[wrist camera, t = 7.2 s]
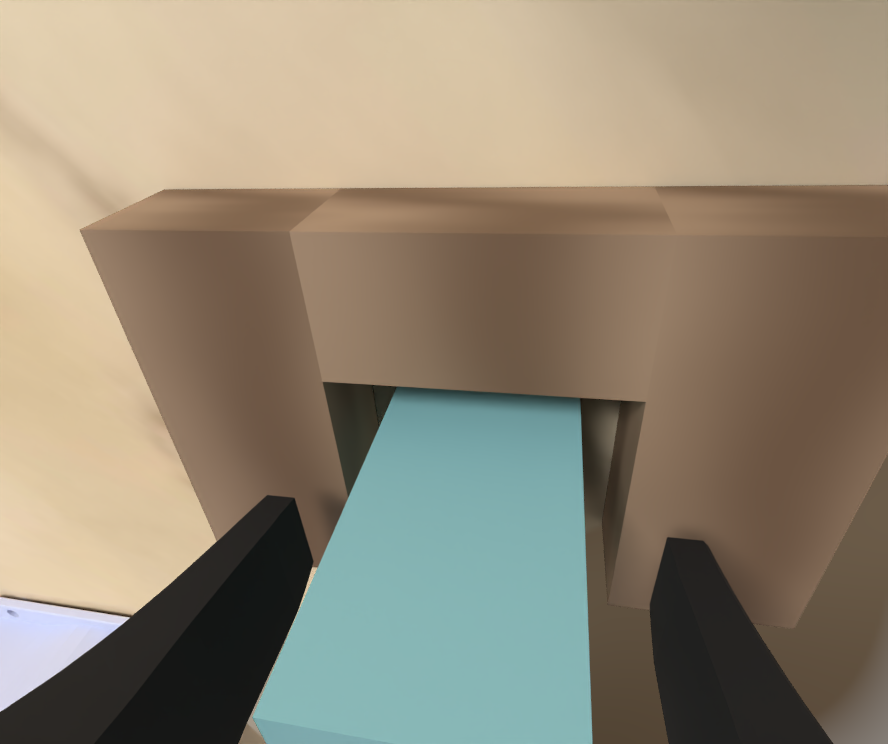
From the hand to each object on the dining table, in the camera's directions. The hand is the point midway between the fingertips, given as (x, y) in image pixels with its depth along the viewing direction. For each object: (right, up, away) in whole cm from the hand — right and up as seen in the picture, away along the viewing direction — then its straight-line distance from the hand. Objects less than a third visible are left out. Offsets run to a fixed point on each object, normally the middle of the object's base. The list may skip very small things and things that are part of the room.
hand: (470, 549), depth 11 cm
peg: (+1, +2, +3) cm, 4 cm away
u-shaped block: (+1, +3, +2) cm, 4 cm away
